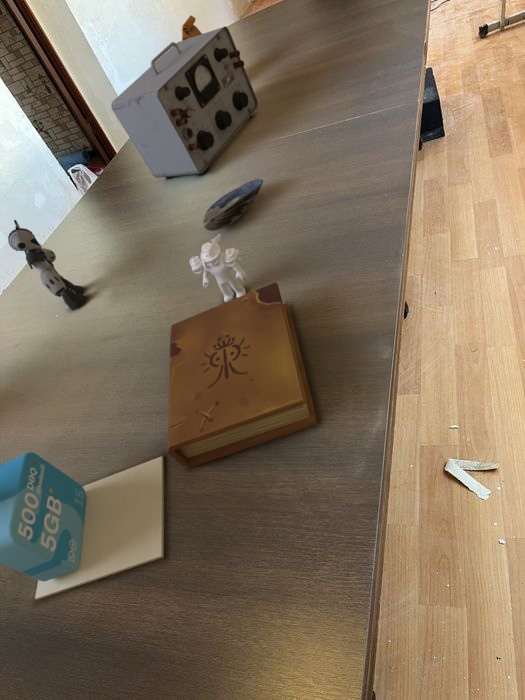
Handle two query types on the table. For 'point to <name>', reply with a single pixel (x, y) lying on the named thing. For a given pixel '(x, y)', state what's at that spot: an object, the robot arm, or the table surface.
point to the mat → (118, 526)
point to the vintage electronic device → (187, 104)
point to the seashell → (231, 206)
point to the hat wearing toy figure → (220, 268)
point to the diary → (235, 378)
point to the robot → (46, 267)
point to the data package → (40, 518)
